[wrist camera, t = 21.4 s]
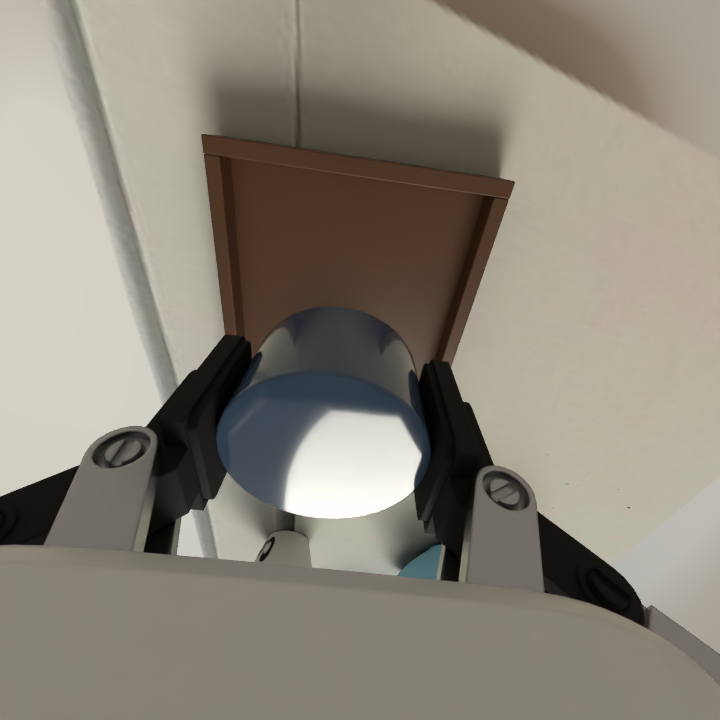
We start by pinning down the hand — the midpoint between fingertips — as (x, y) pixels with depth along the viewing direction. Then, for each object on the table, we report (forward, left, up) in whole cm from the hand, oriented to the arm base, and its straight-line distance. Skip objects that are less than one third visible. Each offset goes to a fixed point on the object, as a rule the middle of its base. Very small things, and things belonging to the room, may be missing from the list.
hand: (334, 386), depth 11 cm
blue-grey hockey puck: (0, 0, -1) cm, 1 cm away
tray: (+4, +1, -12) cm, 13 cm away
